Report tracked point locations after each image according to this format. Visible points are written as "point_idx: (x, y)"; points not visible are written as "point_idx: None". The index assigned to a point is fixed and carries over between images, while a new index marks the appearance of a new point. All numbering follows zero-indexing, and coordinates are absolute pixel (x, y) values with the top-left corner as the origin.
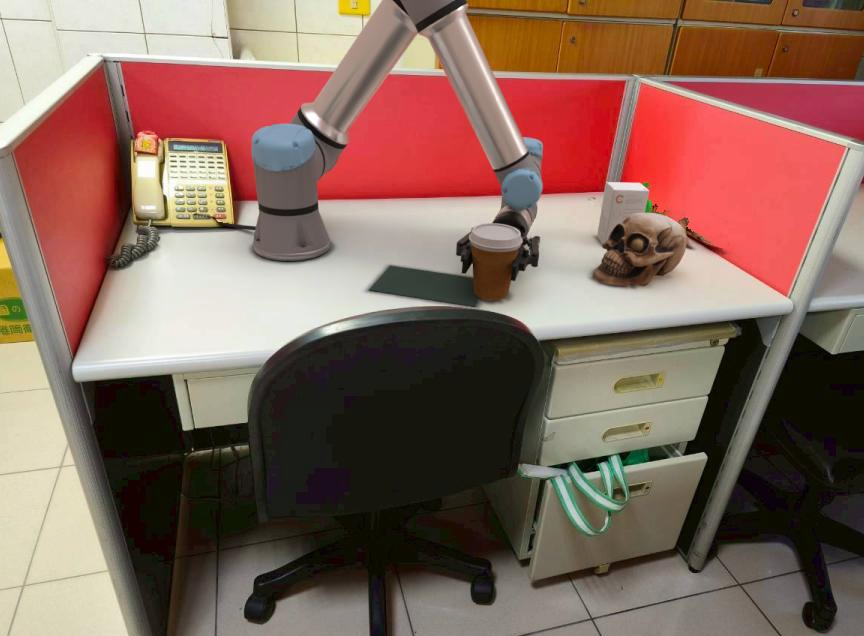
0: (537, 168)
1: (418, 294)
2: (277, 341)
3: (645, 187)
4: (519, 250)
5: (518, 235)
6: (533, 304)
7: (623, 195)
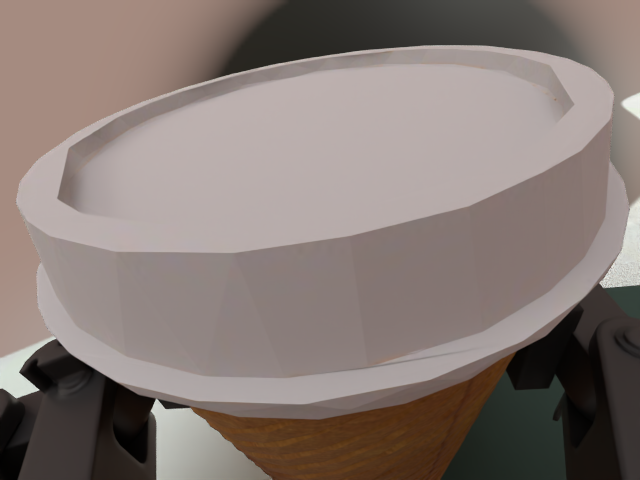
0: None
1: (626, 304)
2: (636, 111)
3: None
4: (99, 473)
5: (104, 120)
6: (171, 410)
7: None
